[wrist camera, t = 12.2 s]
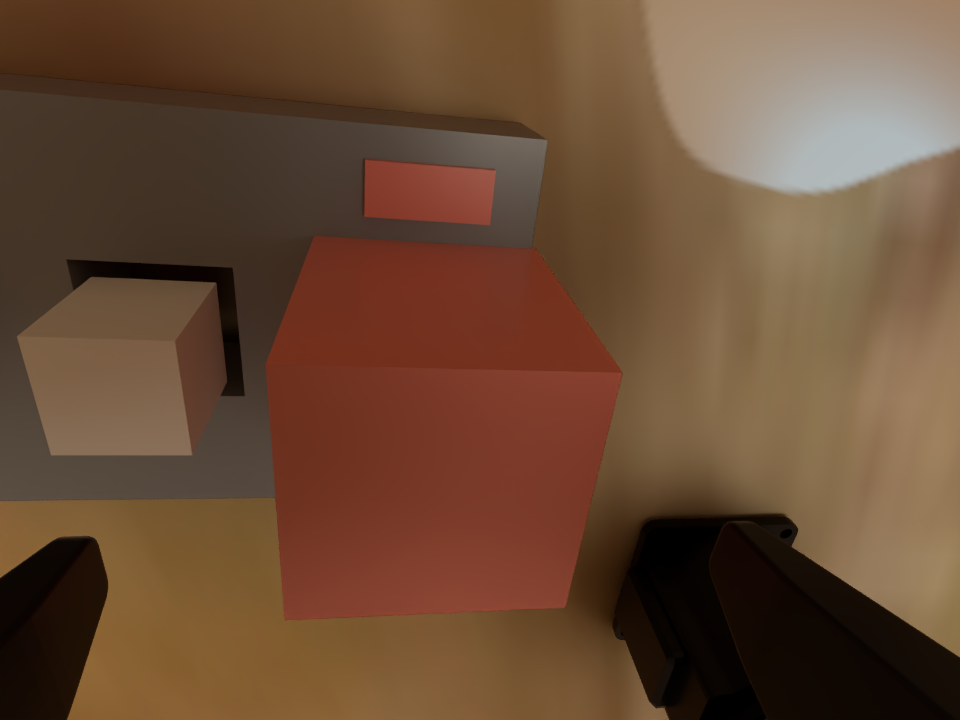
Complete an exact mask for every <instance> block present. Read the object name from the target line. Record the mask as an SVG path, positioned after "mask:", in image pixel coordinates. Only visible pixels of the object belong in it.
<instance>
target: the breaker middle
mask: <svg viewBox="0 0 960 720" xmlns="http://www.w3.org/2000/svg"><path fill="white" fill-rule="evenodd" d="M17 339H18V342H19V346H20V349H21V353H22V356H23V360H24V363H25V366H26V370H27V373H28V377H29V380H30V384H31V387H32V391H33V394H34V398H35V401H36V405H37V408H38V412H39V415H40V419H41V422H42V425H43V429H44V432H45V436H46V439H47V443H48V446H49V450H50V453H51V455H193V453H194V451H195V448H196V446H197V444H198V442H199V440H200V438H201V436H202V434H203V432H204V429H205V427H206V425H207V423H208V421H209V419H210V417H211V415H212V412H213V410H214V408H215V406H216V404H217V402H218V400H219V398H220V396H221V393H222V391H223V389H224V387H225V385H226V383H227V375H226V366H225V356H224V347H223V338H222V329H221V320H220V311H219V302H218V293H217V284H216V283H214V282H192V281H170V280H148V279H127V278H105V277H91V278H89V279H88V280H87V281H86V282H84V283H83V284H82V285H81V286H79V287H78V288H77V289H76V290H74V291H73V292H72V293H71V294H69V295H68V296H67V297H66V298H64V299H63V300H62V301H61V302H59V303H58V304H57V305H56V306H54V307H53V308H52V309H51V310H49V311H48V312H47V313H46V314H44V315H43V316H42V317H41V318H39V319H38V320H37V321H36V322H34V323H33V324H32V325H30V326H29V327H28V328H27V329H25V330H24V331H23V332H22V333H20V334H19V335H18V336H17Z"/></svg>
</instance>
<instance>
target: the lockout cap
mask: <svg viewBox="0 0 960 720" xmlns="http://www.w3.org/2000/svg"><path fill="white" fill-rule="evenodd" d="M622 374H623V373H622V371H621V370H620V368H619V367H618V366H617V364H616V363H615V361H614V360H613V358H612V357H611V356H610V354H609V353H608V351H607V350H606V348H605V347H604V346H603V344H602V343H601V341H600V340H599V338H598V337H597V336H596V334H595V333H594V331H593V330H592V328H591V327H590V326H589V324H588V323H587V321H586V320H585V318H584V317H583V316H582V314H581V313H580V311H579V310H578V308H577V307H576V306H575V304H574V303H573V301H572V300H571V298H570V297H569V296H568V294H567V293H566V291H565V290H564V288H563V287H562V286H561V284H560V283H559V281H558V280H557V278H556V277H555V276H554V274H553V273H552V271H551V270H550V268H549V267H548V266H547V264H546V263H545V261H544V260H543V258H542V257H541V256H540V254H539V253H538V251H537V250H536V249H529V248H512V247H496V246H479V245H462V244H445V243H428V242H411V241H395V240H378V239H361V238H344V237H327V236H314V238H313V240H312V243H311V246H310V248H309V251H308V254H307V256H306V259H305V262H304V264H303V267H302V269H301V272H300V275H299V277H298V280H297V283H296V285H295V288H294V291H293V293H292V296H291V298H290V301H289V304H288V306H287V309H286V312H285V314H284V317H283V320H282V322H281V325H280V327H279V330H278V333H277V335H276V338H275V341H274V343H273V346H272V349H271V351H270V354H269V356H268V359H267V362H266V377H267V391H268V404H269V417H270V431H271V444H272V457H273V471H274V484H275V497H276V511H277V524H278V537H279V550H280V564H281V577H282V590H283V604H284V617H285V620H302V619H325V618H347V617H369V616H391V615H414V614H436V613H458V612H481V611H503V610H525V609H547V608H565V607H566V603H567V599H568V595H569V590H570V586H571V582H572V578H573V574H574V570H575V566H576V562H577V558H578V554H579V550H580V545H581V541H582V537H583V533H584V529H585V525H586V521H587V517H588V513H589V509H590V505H591V500H592V496H593V492H594V488H595V484H596V480H597V476H598V472H599V468H600V464H601V460H602V455H603V451H604V447H605V443H606V439H607V435H608V431H609V427H610V423H611V419H612V415H613V410H614V406H615V402H616V398H617V394H618V390H619V386H620V382H621V378H622Z"/></svg>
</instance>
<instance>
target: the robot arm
mask: <svg viewBox="0 0 960 720" xmlns="http://www.w3.org/2000/svg"><path fill="white" fill-rule="evenodd" d="M656 532H657V533H656ZM655 533H656V534H655ZM797 533H798V528H797V526H796V525H795V524H794V523H793V521H792V520H791V519H789V518H786V517H774V518H722V519H670V520H652V521H650V522H648V523H646V524H645V525H644V526H643V528H642V530H641V533H640V537H639V540H638V543H637V546H636V550H635V553H634V556H633V560H632V563H631V566H630V568H629V569H628V571H627V572H626V575H625V579H624V582H623V585H622V589H621V592H620V595H619V599H618V602H617V605H616V609H615V619H614V622H613V630H614V633H615V636H616V637H617V638H618V639H620V640H625V641H626V644H627V646H628V649H629V651H630V654H631V656H632V659H633V661H634V664H635V666H636V669H637V672H638V674H639V677H640V679H641V682H642V684H643V687H644V689H645V692H646V694H647V697H648V700H649V702H650V703H651V704H652V705H653V706H654V707H655V708H665V711H666V713H667V716H668V718H669V720H960V657H959V656H957V655H955V654H954V653H952V652H951V651H949V650H948V649H946V648H945V647H943V646H942V645H940V644H939V643H937V642H936V641H934V640H933V639H931V638H930V637H928V636H926V635H925V634H923V633H922V632H920V631H919V630H917V629H916V628H914V627H913V626H911V625H910V624H908V623H907V622H905V621H904V620H902V619H901V618H899V617H898V616H896V615H894V614H893V613H891V612H890V611H888V610H887V609H885V608H884V607H882V606H881V605H879V604H878V603H876V602H875V601H873V600H872V599H870V598H869V597H867V596H866V595H864V594H862V593H861V592H859V591H858V590H856V589H855V588H853V587H852V586H850V585H849V584H847V583H846V582H844V581H843V580H841V579H840V578H838V577H837V576H835V575H833V574H832V573H830V572H829V571H827V570H826V569H824V568H823V567H821V566H820V565H818V564H817V563H815V562H814V561H812V560H811V559H809V558H808V557H806V556H805V555H803V554H801V553H800V552H798V551H797V550H795V549H794V548H792V547H791V546H792V544H793V542H794V539H795V537H796V535H797ZM107 592H108V579H107V574H106V571H105V567H104V563H103V560H102V556H101V552H100V548H99V545H98V543H97V541H96V540H95V538H93V537H90V536H74V537H60V538H57V539H55V540H53V541H52V542H50V543H49V544H47V545H46V546H45V547H43V548H42V549H40V550H39V551H38V552H36V553H35V554H33V555H32V556H31V557H29V558H28V559H26V560H25V561H24V562H22V563H21V564H19V565H18V566H16V567H15V568H14V569H12V570H11V571H9V572H8V573H7V574H5V575H4V576H2V577H1V578H0V720H67V718H68V715H69V713H70V710H71V707H72V704H73V701H74V698H75V695H76V692H77V689H78V686H79V683H80V679H81V676H82V673H83V670H84V667H85V664H86V661H87V657H88V654H89V651H90V648H91V645H92V642H93V639H94V635H95V632H96V629H97V626H98V623H99V620H100V617H101V614H102V610H103V607H104V604H105V601H106V597H107Z"/></svg>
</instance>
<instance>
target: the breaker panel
mask: <svg viewBox="0 0 960 720" xmlns="http://www.w3.org/2000/svg"><path fill="white" fill-rule="evenodd" d="M547 141H548V140H547V139H545V138H544V137H542V136H540V135H539V134H537V133H536V132H534V131H533V130H531V129H529V128H528V127H526V126H525V125H523V124H522V123H515V122H504V121H494V120H483V119H473V118H463V117H452V116H442V115H431V114H421V113H411V112H400V111H390V110H379V109H369V108H359V107H348V106H338V105H327V104H317V103H307V102H296V101H286V100H275V99H265V98H255V97H244V96H234V95H223V94H213V93H203V92H192V91H182V90H171V89H161V88H151V87H140V86H130V85H119V84H109V83H99V82H88V81H78V80H67V79H57V78H47V77H36V76H26V75H15V74H5V73H0V501H32V500H121V499H210V498H276V497H275V484H274V471H273V457H272V444H271V431H270V417H269V404H268V391H267V377H266V362H267V359H268V356H269V354H270V351H271V349H272V346H273V343H274V341H275V338H276V335H277V333H278V330H279V327H280V325H281V322H282V320H283V317H284V314H285V312H286V309H287V306H288V304H289V301H290V298H291V296H292V293H293V291H294V288H295V285H296V283H297V280H298V277H299V275H300V272H301V269H302V267H303V264H304V262H305V259H306V256H307V254H308V251H309V248H310V246H311V243H312V240H313V238H314V236H327V237H344V238H361V239H378V240H395V241H411V242H428V243H445V244H462V245H479V246H496V247H512V248H529V249H532V243H533V237H534V230H535V223H536V216H537V209H538V203H539V196H540V189H541V182H542V175H543V169H544V162H545V155H546V148H547ZM128 262H130V263H150V264H170V265H190V266H210V267H230V268H233V276H234V286H235V297H236V307H237V318H238V328H239V339H240V342H223V347H224V356H225V366H226V375H227V383H226V385H225V387H224V389H223V391H222V393H221V396H220V398H219V400H218V402H217V404H216V406H215V408H214V410H213V412H212V415H211V417H210V419H209V421H208V423H207V425H206V427H205V429H204V432H203V434H202V436H201V438H200V440H199V442H198V444H197V446H196V448H195V451H194V453H193V455H51V453H50V450H49V446H48V443H47V439H46V436H45V432H44V429H43V425H42V422H41V419H40V415H39V412H38V408H37V405H36V401H35V398H34V394H33V391H32V387H31V384H30V380H29V377H28V373H27V370H26V366H25V363H24V360H23V356H22V353H21V349H20V346H19V342H18V339H17V336H18V335H19V334H20V333H22V332H23V331H24V330H25V329H27V328H28V327H29V326H30V325H32V324H33V323H34V322H36V321H37V320H38V319H39V318H41V317H42V316H43V315H44V314H46V313H47V312H48V311H49V310H51V309H52V308H53V307H54V306H56V305H57V304H58V303H59V302H61V301H62V300H63V299H64V298H66V297H67V296H68V295H69V294H71V293H72V292H73V291H74V290H76V289H77V288H78V287H79V286H81V285H82V284H83V283H84V282H86V281H87V280H88V279H89V278H91V277H105V278H127V279H131V274H130V269H129V263H128Z"/></svg>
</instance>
